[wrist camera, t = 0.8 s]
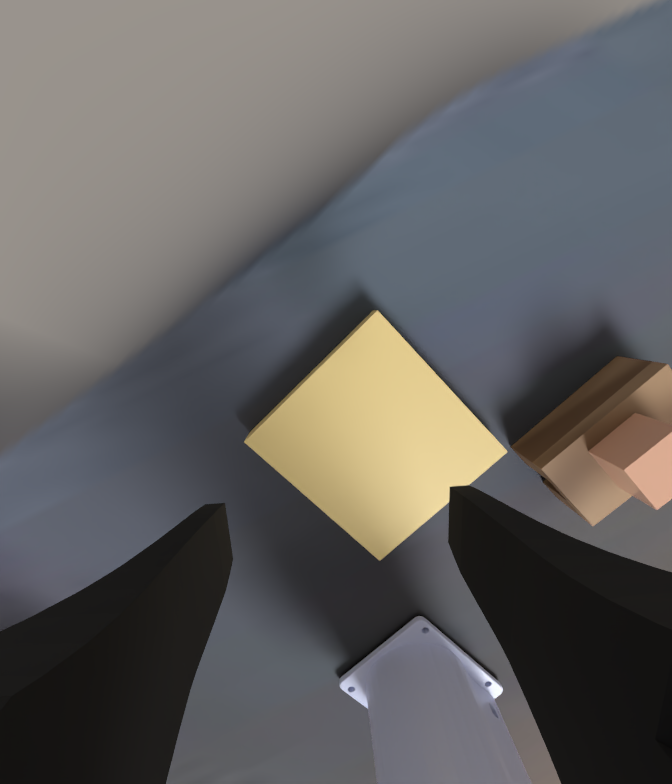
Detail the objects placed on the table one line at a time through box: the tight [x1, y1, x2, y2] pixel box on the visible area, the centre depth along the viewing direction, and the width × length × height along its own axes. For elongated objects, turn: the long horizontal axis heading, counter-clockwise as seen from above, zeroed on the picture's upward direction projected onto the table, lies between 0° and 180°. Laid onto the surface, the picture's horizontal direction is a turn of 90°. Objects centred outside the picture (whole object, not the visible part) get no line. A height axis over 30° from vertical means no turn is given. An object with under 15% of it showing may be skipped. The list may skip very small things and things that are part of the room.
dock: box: [244, 310, 508, 561], centre depth 20 cm, size 11×10×2 cm
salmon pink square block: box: [588, 413, 672, 510], centre depth 17 cm, size 3×3×2 cm
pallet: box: [511, 356, 672, 526], centre depth 20 cm, size 5×8×3 cm, turn 134°
